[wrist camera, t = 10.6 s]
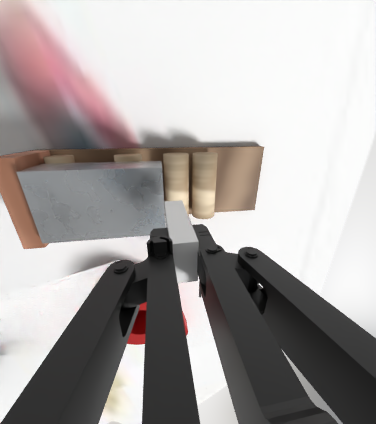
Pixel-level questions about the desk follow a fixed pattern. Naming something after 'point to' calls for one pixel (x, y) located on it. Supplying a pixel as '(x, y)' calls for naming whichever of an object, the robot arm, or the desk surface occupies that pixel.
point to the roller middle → (176, 177)
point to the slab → (94, 199)
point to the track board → (226, 161)
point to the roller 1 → (59, 159)
